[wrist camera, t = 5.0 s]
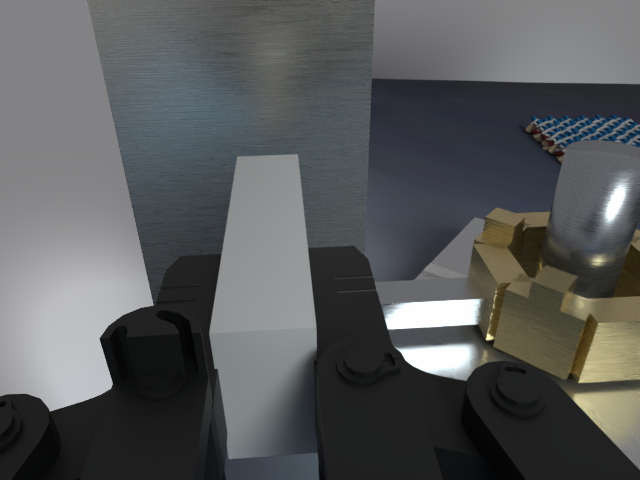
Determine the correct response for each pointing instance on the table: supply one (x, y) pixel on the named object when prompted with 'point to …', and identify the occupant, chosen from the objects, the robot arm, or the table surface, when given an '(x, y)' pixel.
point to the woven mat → (582, 131)
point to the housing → (563, 254)
